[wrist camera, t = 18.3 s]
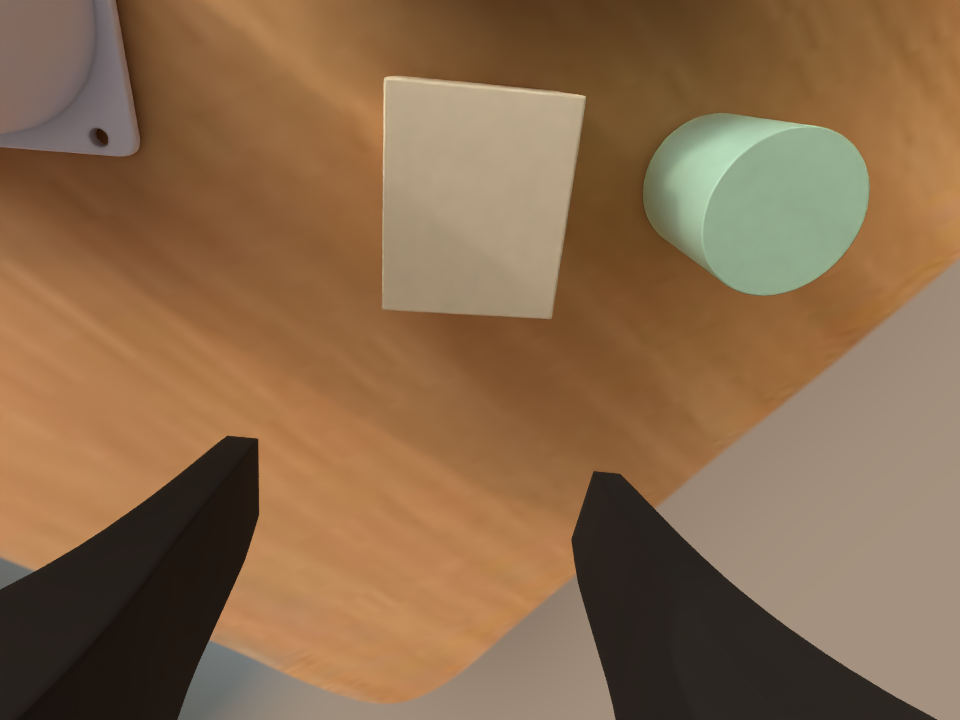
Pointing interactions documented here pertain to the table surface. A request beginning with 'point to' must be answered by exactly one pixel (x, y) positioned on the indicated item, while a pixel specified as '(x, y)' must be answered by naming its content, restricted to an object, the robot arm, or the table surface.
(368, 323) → the table surface
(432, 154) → the cream block
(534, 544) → the table surface
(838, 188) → the mint green cylinder
